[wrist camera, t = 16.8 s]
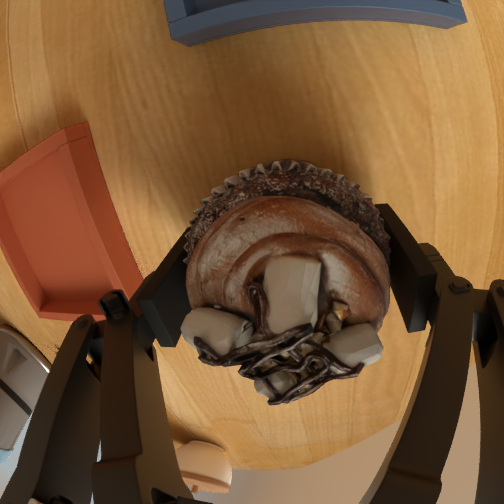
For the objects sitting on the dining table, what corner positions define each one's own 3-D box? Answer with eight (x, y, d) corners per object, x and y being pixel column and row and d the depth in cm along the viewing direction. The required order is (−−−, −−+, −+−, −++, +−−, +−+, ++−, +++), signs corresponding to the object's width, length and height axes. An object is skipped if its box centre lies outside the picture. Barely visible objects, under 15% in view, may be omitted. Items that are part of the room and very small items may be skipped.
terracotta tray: (155, 304, 22) (143, 325, 20) (51, 304, 25) (39, 318, 23) (88, 121, 15) (63, 127, 13) (-4, 180, 18) (-22, 190, 16)
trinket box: (235, 442, 35) (224, 495, 27) (239, 460, 40) (230, 503, 32) (169, 429, 36) (152, 477, 28) (183, 449, 42) (170, 490, 34)
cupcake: (399, 216, 15) (477, 338, 7) (297, 311, 20) (290, 441, 11) (274, 108, 13) (241, 117, 5) (183, 234, 18) (104, 351, 9)
